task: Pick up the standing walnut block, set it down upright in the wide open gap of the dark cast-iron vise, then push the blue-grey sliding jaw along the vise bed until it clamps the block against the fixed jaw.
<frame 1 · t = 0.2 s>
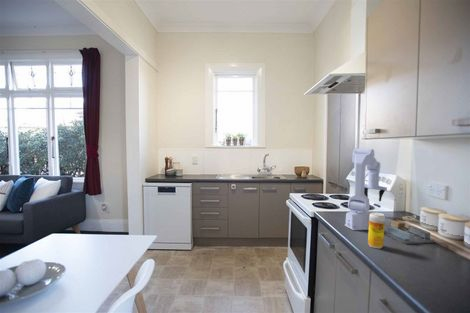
hand: (373, 199, 157), 10 cm above the worktop, tool pointing down, fingers open, 7 cm apart
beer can: (375, 246, 111), on the worktop
vise: (409, 238, 121), on the worktop
sliding jaw: (398, 232, 120), point 3 cm above the worktop, slide at 0.0 cm
block: (397, 230, 132), on the worktop
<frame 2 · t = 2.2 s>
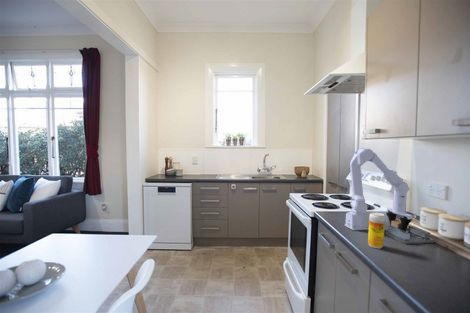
hand: (397, 228, 131), 1 cm above the worktop, tool pointing down, fingers open, 7 cm apart
nothing on the worktop moved.
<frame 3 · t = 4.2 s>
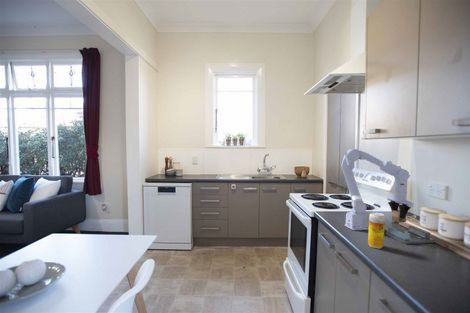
hand: (398, 216, 128), 8 cm above the worktop, tool pointing down, fingers closed on block, 4 cm apart
block: (398, 220, 129), point 6 cm above the worktop, touching gripper
everything else where it was.
when the fingers open (3 cm above the worktop, at t = 6.0 s): block stays where it is, resting on vise.
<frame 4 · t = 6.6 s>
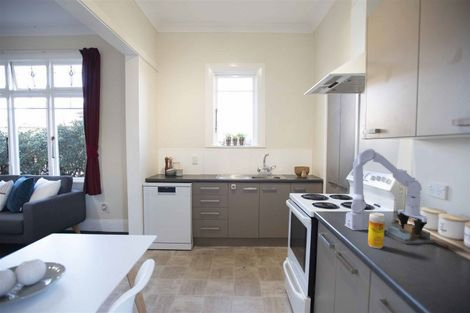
hand: (410, 231, 121), 3 cm above the worktop, tool pointing down, fingers open, 7 cm apart
block: (411, 235, 121), point 1 cm above the worktop, touching vise
everything else where it was.
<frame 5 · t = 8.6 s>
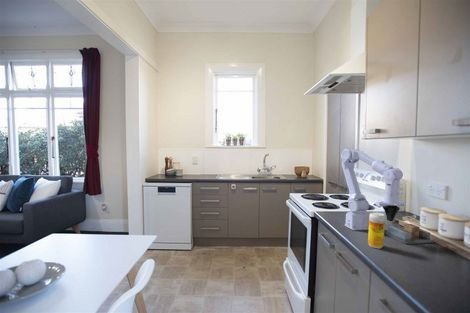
hand: (390, 220, 119), 9 cm above the worktop, tool pointing down, fingers closed
nothing on the worktop moved.
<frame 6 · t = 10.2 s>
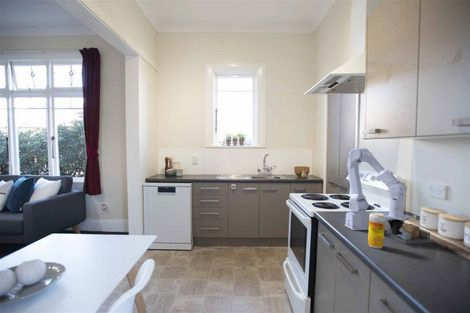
hand: (394, 234, 120), 2 cm above the worktop, tool pointing down, fingers closed
sliding jaw: (399, 232, 120), point 3 cm above the worktop, slide at 0.4 cm, touching gripper
everything else where it was.
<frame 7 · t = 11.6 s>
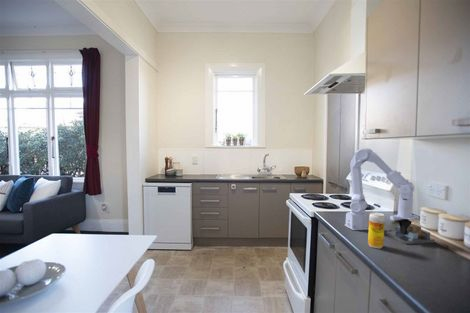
hand: (403, 234, 120), 2 cm above the worktop, tool pointing down, fingers closed, pressing on sliding jaw
sliding jaw: (406, 232, 121), point 3 cm above the worktop, slide at 4.5 cm, touching block, gripper
block: (412, 235, 121), point 1 cm above the worktop, touching sliding jaw, vise
everything else where it was.
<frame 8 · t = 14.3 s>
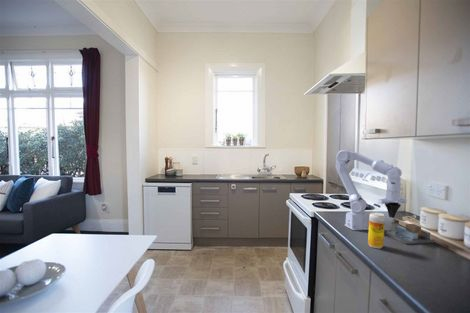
hand: (391, 217, 124), 9 cm above the worktop, tool pointing down, fingers closed
sliding jaw: (406, 232, 121), point 3 cm above the worktop, slide at 4.5 cm
block: (412, 235, 121), point 1 cm above the worktop, touching vise
everything else where it was.
at the end: sliding jaw slide at 4.5 cm; block 0.0 cm from the target spot on the vise, point 1.5 cm above the vise's base; block tilted 0° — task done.
